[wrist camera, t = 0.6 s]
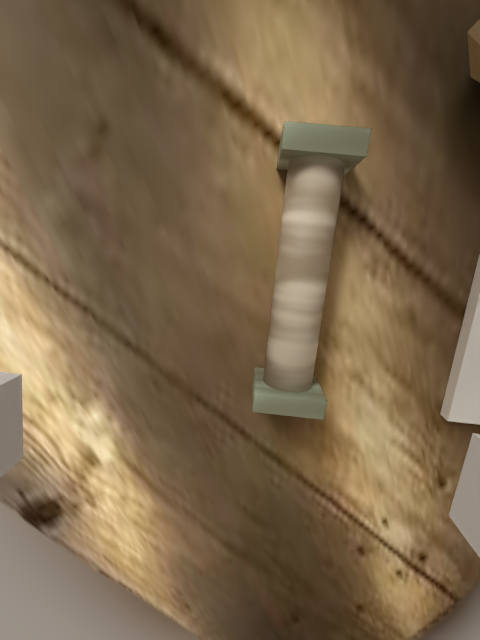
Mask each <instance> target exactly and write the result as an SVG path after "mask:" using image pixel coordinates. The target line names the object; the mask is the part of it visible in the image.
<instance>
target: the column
mask: <svg viewBox="0 0 480 640" xmlns="http://www.w3.org/2000/svg"><path fill="white" fill-rule="evenodd" d="M370 133H371V128H359V127H347V126H336V125H324V124H312V123H300V122H289V121H285V122H284V127H283V131H282V136H281V141H280V145H279V152H278V161H277V169H279V170H287V179H286V187H285V196H284V204H283V213H282V221H281V230H280V239H279V247H278V256H277V264H276V273H275V281H274V290H273V299H272V307H271V316H270V324H269V333H268V342H267V350H266V359H265V367H264V368H257V367H255V370H254V379H253V404H252V412H257V413H266V414H275V415H284V416H293V417H303V418H312V419H321V420H324V414H325V408H326V402H327V400H326V397H325V395H324V393H323V391H322V389H321V387H320V385H319V383H318V380H317V378H316V376H315V374H314V368H315V361H316V355H317V348H318V342H319V335H320V328H321V322H322V315H323V309H324V302H325V295H326V289H327V282H328V276H329V269H330V262H331V256H332V249H333V243H334V236H335V229H336V223H337V216H338V210H339V203H340V196H341V190H342V183H343V177H344V175H345V174H347V173H348V172H349V171H350V170H351V169H352V168H354V167H355V166H356V165H357V164H358V163H359V162H361V161H362V160H363V159H364V158H365V157H366V156H367V152H368V146H369V140H370Z"/></svg>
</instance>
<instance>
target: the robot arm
mask: <svg viewBox="0 0 480 640" xmlns="http://www.w3.org/2000/svg"><path fill="white" fill-rule="evenodd" d="M22 458H23V420H22V375H21V374H14V373H7V372H0V478H1V477H2V476H3V475H4V474H5V473H6V472H8V471H9V470H10V469H11V468H12V467H13V466H14V465H16V464H17V463H18V462H19V461H20V460H21V459H22ZM449 517H450V518H451V519H452V521H453V522H454V524H455V525H456V526H457V528H458V529H459V530H460V532H461V533H462V534H463V536H464V537H465V539H466V540H467V541H468V543H469V544H470V545H471V547H472V548H473V549H474V551H475V552H476V553H477V555H478V556H479V558H480V434H475V433H473V434H472V437H471V440H470V444H469V447H468V451H467V454H466V458H465V461H464V465H463V468H462V471H461V475H460V478H459V482H458V485H457V489H456V492H455V496H454V499H453V502H452V506H451V509H450V513H449Z"/></svg>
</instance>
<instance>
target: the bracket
mask: <svg viewBox="0 0 480 640" xmlns="http://www.w3.org/2000/svg"><path fill="white" fill-rule="evenodd" d="M440 415H441V416H442V417H444V418H445V419H446V420H447V421H452V422H461V423H470V424H479V425H480V254H479V258H478V262H477V266H476V270H475V274H474V278H473V282H472V287H471V291H470V295H469V299H468V303H467V307H466V311H465V315H464V319H463V323H462V327H461V331H460V335H459V339H458V343H457V347H456V351H455V355H454V360H453V364H452V368H451V372H450V376H449V380H448V384H447V388H446V392H445V396H444V400H443V404H442V408H441V412H440Z"/></svg>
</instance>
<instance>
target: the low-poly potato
mask: <svg viewBox="0 0 480 640" xmlns="http://www.w3.org/2000/svg"><path fill="white" fill-rule="evenodd" d="M468 48H469V64H470V77H472V78H473V79H475V80H476V81H478V82H479V83H480V19H479V20H478V21H477V22H476V23H475V24H474V25H473V26H472V28H471V29H470V30H469V31H468Z"/></svg>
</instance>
